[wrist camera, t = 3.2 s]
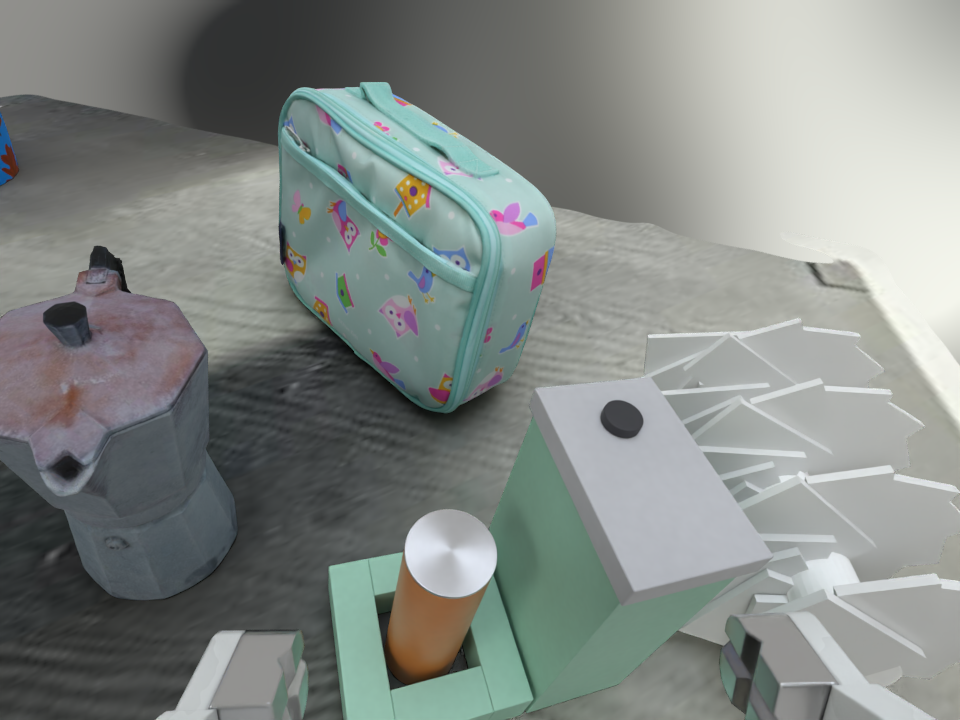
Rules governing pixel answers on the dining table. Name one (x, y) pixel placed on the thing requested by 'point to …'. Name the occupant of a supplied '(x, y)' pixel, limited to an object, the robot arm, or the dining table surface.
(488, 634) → the square frame
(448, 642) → the orange silver-capped cylinder
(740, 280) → the dining table surface
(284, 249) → the lunch box
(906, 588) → the spiral staircase
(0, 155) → the thermos
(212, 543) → the moka pot
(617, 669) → the pet feeder tower
